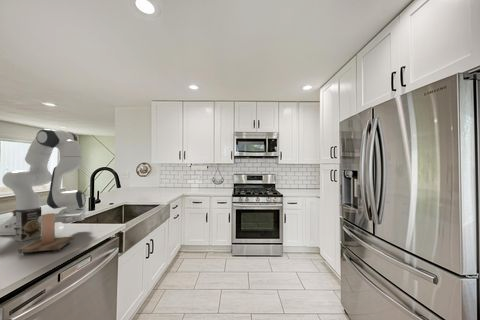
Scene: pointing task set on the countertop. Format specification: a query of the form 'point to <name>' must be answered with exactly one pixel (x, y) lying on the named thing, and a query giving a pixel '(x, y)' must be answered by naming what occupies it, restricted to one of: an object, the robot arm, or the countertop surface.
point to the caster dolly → (45, 245)
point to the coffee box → (28, 225)
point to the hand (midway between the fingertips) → (54, 221)
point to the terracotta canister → (48, 228)
